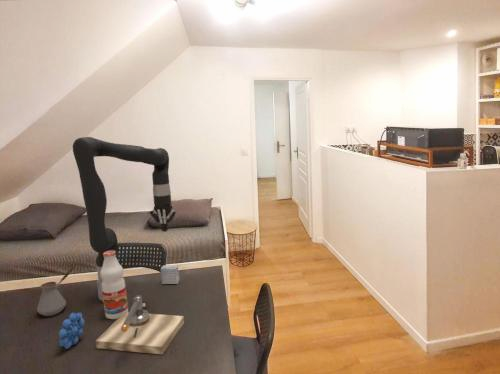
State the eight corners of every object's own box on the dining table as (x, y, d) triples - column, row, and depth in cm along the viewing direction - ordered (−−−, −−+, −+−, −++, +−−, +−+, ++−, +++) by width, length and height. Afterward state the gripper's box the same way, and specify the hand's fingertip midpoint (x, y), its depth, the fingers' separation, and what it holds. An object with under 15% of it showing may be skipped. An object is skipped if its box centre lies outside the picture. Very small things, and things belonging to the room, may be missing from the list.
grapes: (77, 333, 141) (72, 305, 139) (90, 336, 139) (86, 307, 137) (52, 352, 130) (47, 321, 128) (66, 355, 128) (62, 324, 126)
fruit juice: (128, 306, 161) (121, 246, 155) (128, 317, 152) (120, 254, 146) (106, 310, 158) (98, 250, 153) (104, 321, 149) (95, 257, 144)
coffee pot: (52, 320, 152) (46, 287, 149) (31, 316, 156) (25, 284, 153) (88, 296, 172) (84, 266, 169) (69, 293, 176) (65, 265, 173)
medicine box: (179, 281, 184) (178, 265, 182) (177, 285, 180) (175, 268, 178) (164, 281, 185) (163, 265, 183) (161, 285, 180) (160, 268, 179)
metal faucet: (131, 315, 146) (128, 294, 145) (151, 313, 147) (149, 293, 145) (114, 351, 124) (111, 326, 122) (138, 349, 124) (135, 325, 123)
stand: (96, 348, 131) (95, 340, 131) (125, 318, 151) (125, 311, 150) (162, 354, 126) (161, 346, 125) (184, 322, 145) (183, 315, 145)
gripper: (144, 195, 157) (147, 233, 160) (172, 195, 154) (175, 234, 158) (152, 191, 164) (155, 228, 168) (179, 192, 162) (181, 229, 165)
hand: (165, 231), depth 163 cm, fingers closed
